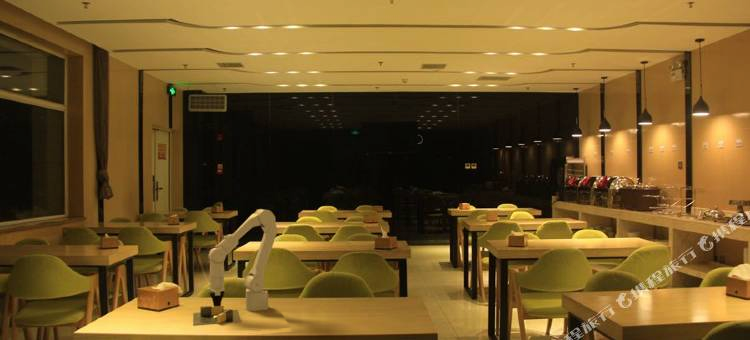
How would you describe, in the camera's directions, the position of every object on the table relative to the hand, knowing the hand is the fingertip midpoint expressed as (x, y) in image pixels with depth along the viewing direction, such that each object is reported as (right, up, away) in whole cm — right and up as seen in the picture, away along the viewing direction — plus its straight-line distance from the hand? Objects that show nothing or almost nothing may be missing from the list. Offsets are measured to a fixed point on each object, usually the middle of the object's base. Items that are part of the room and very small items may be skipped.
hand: (217, 309), depth 241 cm
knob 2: (+6, -1, -13) cm, 15 cm away
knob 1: (-1, -1, -3) cm, 3 cm away
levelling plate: (+2, -3, -7) cm, 8 cm away
